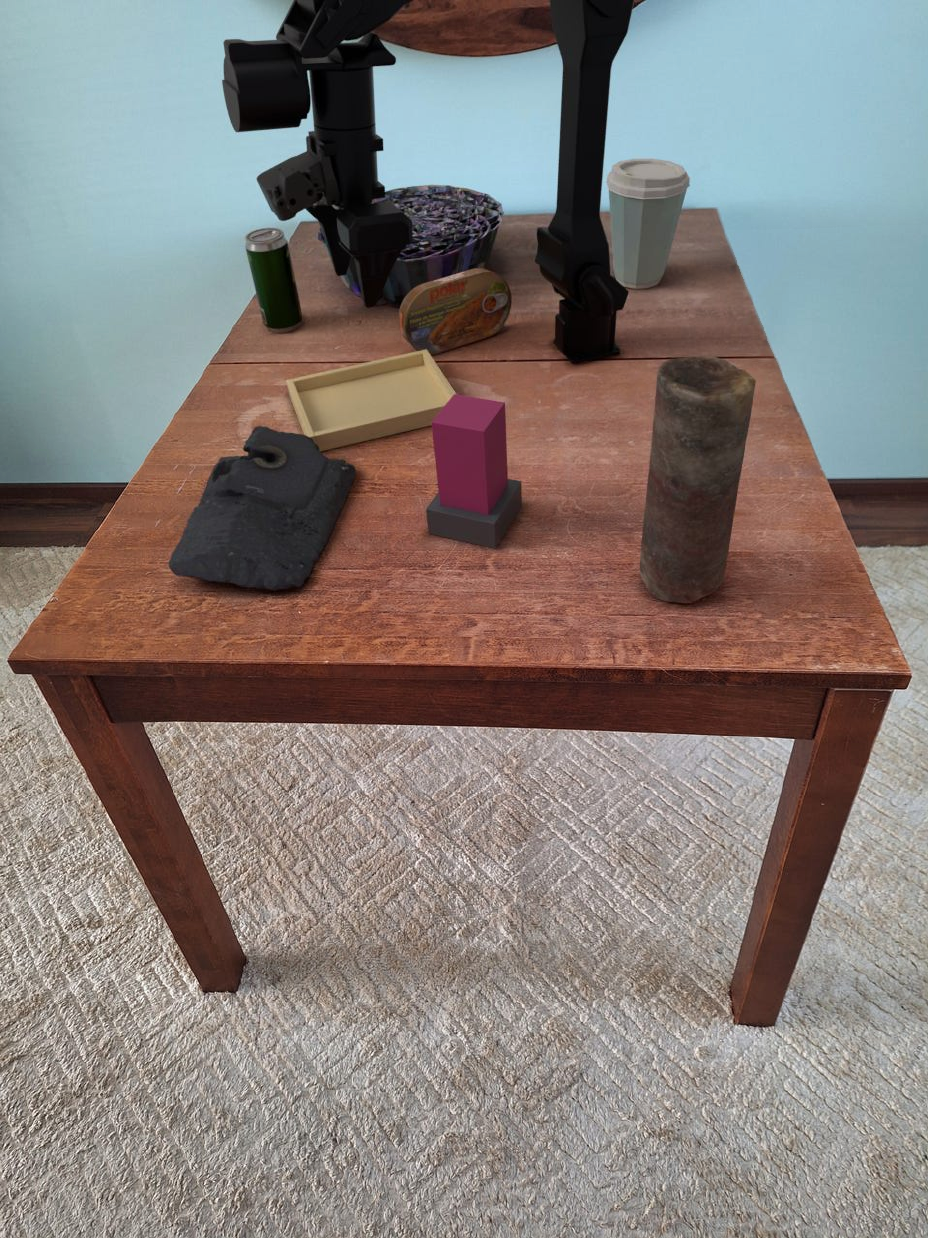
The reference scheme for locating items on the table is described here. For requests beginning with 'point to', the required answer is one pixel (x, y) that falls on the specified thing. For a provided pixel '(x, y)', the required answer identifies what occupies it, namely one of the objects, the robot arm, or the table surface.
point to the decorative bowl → (436, 237)
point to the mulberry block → (471, 453)
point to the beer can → (274, 279)
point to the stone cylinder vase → (693, 475)
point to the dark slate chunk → (264, 513)
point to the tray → (369, 399)
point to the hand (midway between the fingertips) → (355, 290)
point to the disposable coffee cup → (644, 217)
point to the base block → (476, 519)
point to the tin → (455, 310)
